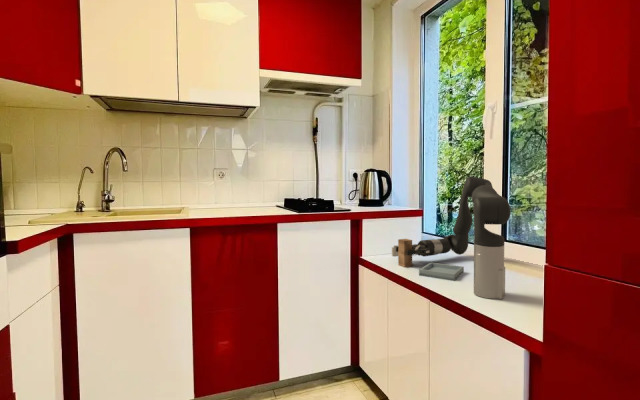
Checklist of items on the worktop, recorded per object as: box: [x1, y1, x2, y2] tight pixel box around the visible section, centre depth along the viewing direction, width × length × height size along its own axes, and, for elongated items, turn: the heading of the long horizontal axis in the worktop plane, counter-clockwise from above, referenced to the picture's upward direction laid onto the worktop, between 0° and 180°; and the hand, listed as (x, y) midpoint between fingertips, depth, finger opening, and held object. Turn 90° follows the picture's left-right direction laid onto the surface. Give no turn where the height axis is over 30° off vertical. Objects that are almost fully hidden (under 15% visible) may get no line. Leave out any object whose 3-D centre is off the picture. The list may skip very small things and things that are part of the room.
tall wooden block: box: [397, 238, 413, 268], centre depth 158 cm, size 4×4×12 cm
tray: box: [418, 262, 465, 282], centre depth 144 cm, size 14×14×2 cm
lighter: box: [391, 244, 398, 257], centre depth 179 cm, size 7×2×8 cm, turn 96°
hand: (401, 251), depth 157 cm, fingers open, 7 cm apart
